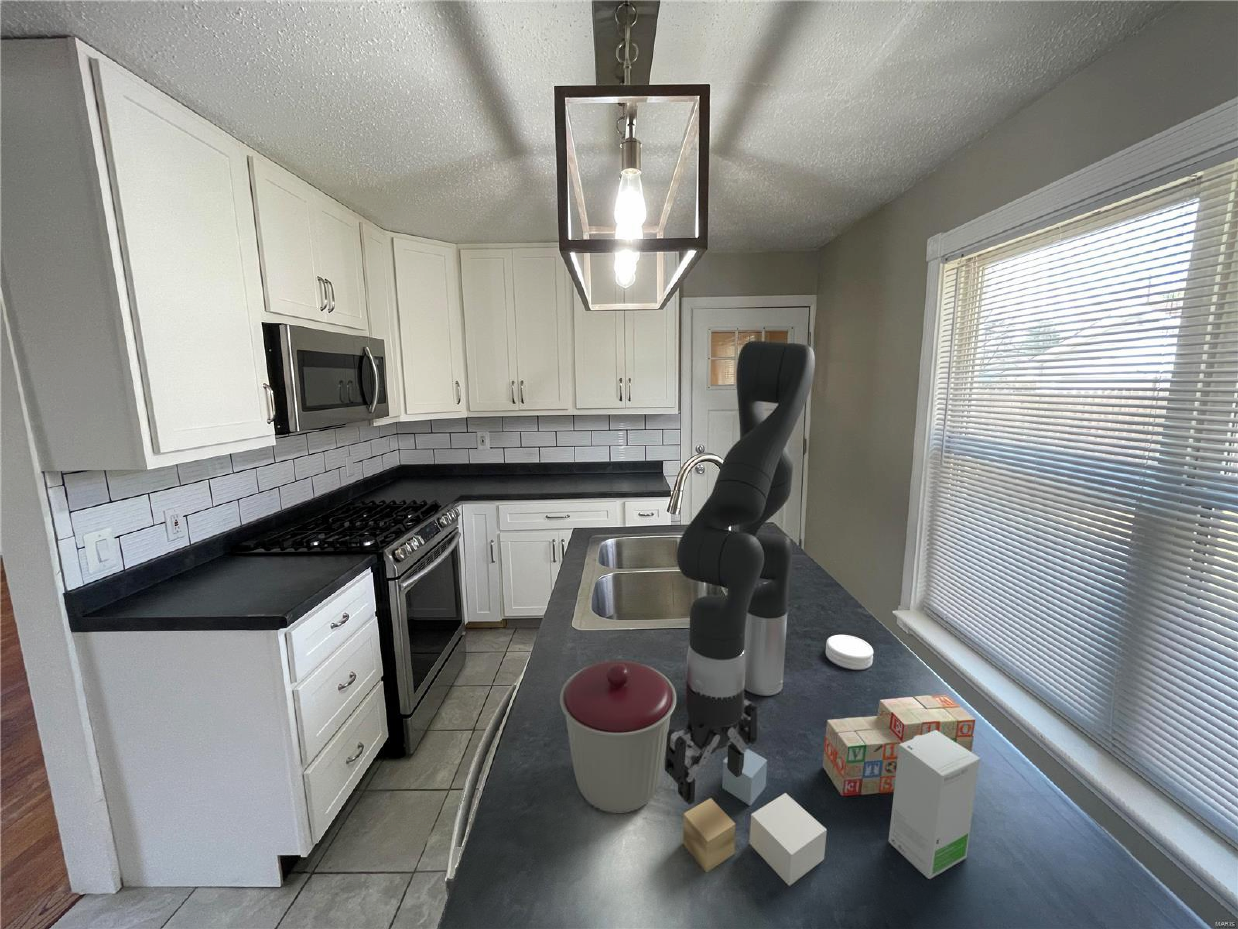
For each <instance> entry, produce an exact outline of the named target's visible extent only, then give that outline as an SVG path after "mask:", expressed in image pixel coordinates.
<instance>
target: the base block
mask: <svg viewBox="0 0 1238 929" xmlns="http://www.w3.org/2000/svg"><path fill="white" fill-rule="evenodd" d="M827 832H828V831H827V828H826V827H825V826H824V825H822V824H821V823H820V821H818V820H817V819H815V818H814V817H813V815H811V814H810V813H809V812H808V811H806V810H805V809H804V808H803V807H802V806H801V805H800V804H799V803H798V802H796V800H794V799H793V798H792V797H791V796H790V795H788V793H786V792H784V793H783V794H782V795H780V796H778V797H776V798H775V799H773V800H772V801H770V802H768V803H767V804H765V805H764V806H762V807H761V808H758V809H757V810H755V811H754V812H752V813H751V814H750V830H749V844H750V845H751V847H752V848H753V849H754V850H755V851H756V852H757V853H758V854H759V856H760V857H762V858H763V860H764V861H765V862H766V863H767V864H768V865H769V866H770V867H771V868H772V869H773V871H775V873H776V874H777V875H778V877H779V876H780V878H781V879H782V880H783V881H784V882H785V883H786V884H787V885H788V886H789V887H790V886H791V885H793V884H794V883H796V882H797V881H798V880H799V879H800V878H802V877H804V875H806V874H807V873H809V872H810V871H811V870H812V869H814V868H815V867H816V866H817V865H819V864H820V863H821V862H823V861H824V860H825V854H826V853H825V851H826V842H827Z"/></svg>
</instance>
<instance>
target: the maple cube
mask: <svg viewBox="0 0 1238 929" xmlns="http://www.w3.org/2000/svg"><path fill="white" fill-rule="evenodd" d="M682 827H683V829H682V830H683V831H682V844H683V845H684V846H685V848H686V849H687V850H688V851H689V853H690V854H691V856H692V857H693V858H694V859H695V861H697V863H698V864H699V865H700V867H701V868H702V869H703V870H704V871H705V873H708V872H710V871H712V870H713V869H714V868H716V867H717V866H719V865H720V864H722V863H723V862H724V861H726V860H727V859H729V858H730V857H732V856H734V855H735V841H736V840H735V839H736V823H735V821H733V820H732V818H730V816H728V814H727V813H726V812H725V811H724V810H723V809H722V808H721V807H720V806H719V805H718V804H717V803H716V802H715V800H713V798H711V797H710V798H708V799H706V800H704V801H703V802H701V803H700V804H698V805H696V806H694V807H693V808H691V809H689V810H688V811H686V812H684V813H683V826H682Z"/></svg>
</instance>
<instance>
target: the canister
mask: <svg viewBox="0 0 1238 929" xmlns="http://www.w3.org/2000/svg"><path fill="white" fill-rule="evenodd" d="M559 705H560V708H561V710H562V713H563V714H564V716H565V720H566V728H567V732H568V733H567V735H568V742H569V747H570V754H571V761H572V766H573V772H574V775H575V781H576V784H577V787H578V789H579V791H580V792H581V794H582V796H583V797H584V799H585V800H586V801H588V803H589V804H590V805H592V806H593V807H594V808H597V809H599V810H600V811H605V812H606V813H612V814H616V813H617V814H622V813H629V812H634V811H635V810H638V809H640V808H641V807H644V806H645V805H646V804H647V803H649V801H651V799H652V798H653V797H654V796H655V794H656V792H657V791H658V788H659V785H660V783H661V781H662V775H663V769H664V765H665V757H666V743H667V733H668V731H669V730H670V724H671V723H670V721H671V716H672V714H673V713H674V711H675V709H676V708H675V707H676V705H677V693H676V689H675V687H674V685H673V684H672V682H671V681H670V680H669V679H668V677H667V676H665V675H664V674H663V673H661V672H660V671H658V669H656V668H653V667H652V666H649V665H646V664H642V663H639V662H636V661H631V660H622V659H621V660H607V661H601V662H597V663H593V664H591V665H589V666H586V667H584V668H582V669H580V670H578V671H577V672H575V673H574V674H572V675H571V676H570V677H569V678H568V679H567V680H566V681H565V683H564V684H563V686H562V688H561V690H560V695H559Z"/></svg>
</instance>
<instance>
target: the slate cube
mask: <svg viewBox="0 0 1238 929" xmlns="http://www.w3.org/2000/svg"><path fill="white" fill-rule="evenodd" d="M727 758H728V756H726V757H725V758H724V759H723V761H722V762H723V763H722V781H721V783H722V784H721V785H722V787H721V788H722V789H723V790H725V791H727V792H728V793H730V794H731V795H733V796H734V797H735V798H737V799H739V801H740V800H741V801H742V802H743V803H745V804H747V805H748V806H750V807H751V805H752V804H753V803H754V802H755V801H756V800H757V798H758V797H759V796H760V795H761V794H762V792H763V791H764V789H766V786H767V772H768V770H767V769H768V759H766V758H764V757H763V756H761V755H759V753H758V754H757V753H755V752H754V751H752V750H751V749H748V748H747V750H746V752H745V753H744V767H743V770H742V775H741V776H739V777H736V776H734V775H733V774H732V773H731V772H730V771H729V770H728V768H727Z"/></svg>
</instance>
